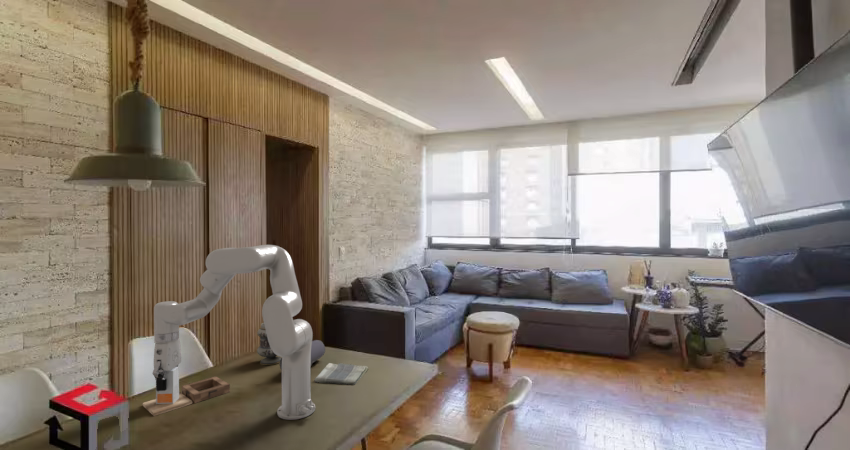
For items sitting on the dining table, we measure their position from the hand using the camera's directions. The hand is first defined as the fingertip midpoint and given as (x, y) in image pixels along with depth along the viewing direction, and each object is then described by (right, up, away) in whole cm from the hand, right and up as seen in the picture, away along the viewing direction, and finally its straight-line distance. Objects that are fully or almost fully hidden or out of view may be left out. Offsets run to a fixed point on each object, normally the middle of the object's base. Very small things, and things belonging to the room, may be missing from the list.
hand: (167, 385), depth 145 cm
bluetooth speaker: (+38, -7, +36) cm, 53 cm away
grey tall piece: (+20, -6, +44) cm, 49 cm away
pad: (0, -7, 0) cm, 7 cm away
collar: (+8, -7, +10) cm, 15 cm away
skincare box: (0, -6, 0) cm, 6 cm away
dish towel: (+57, -7, +28) cm, 64 cm away
